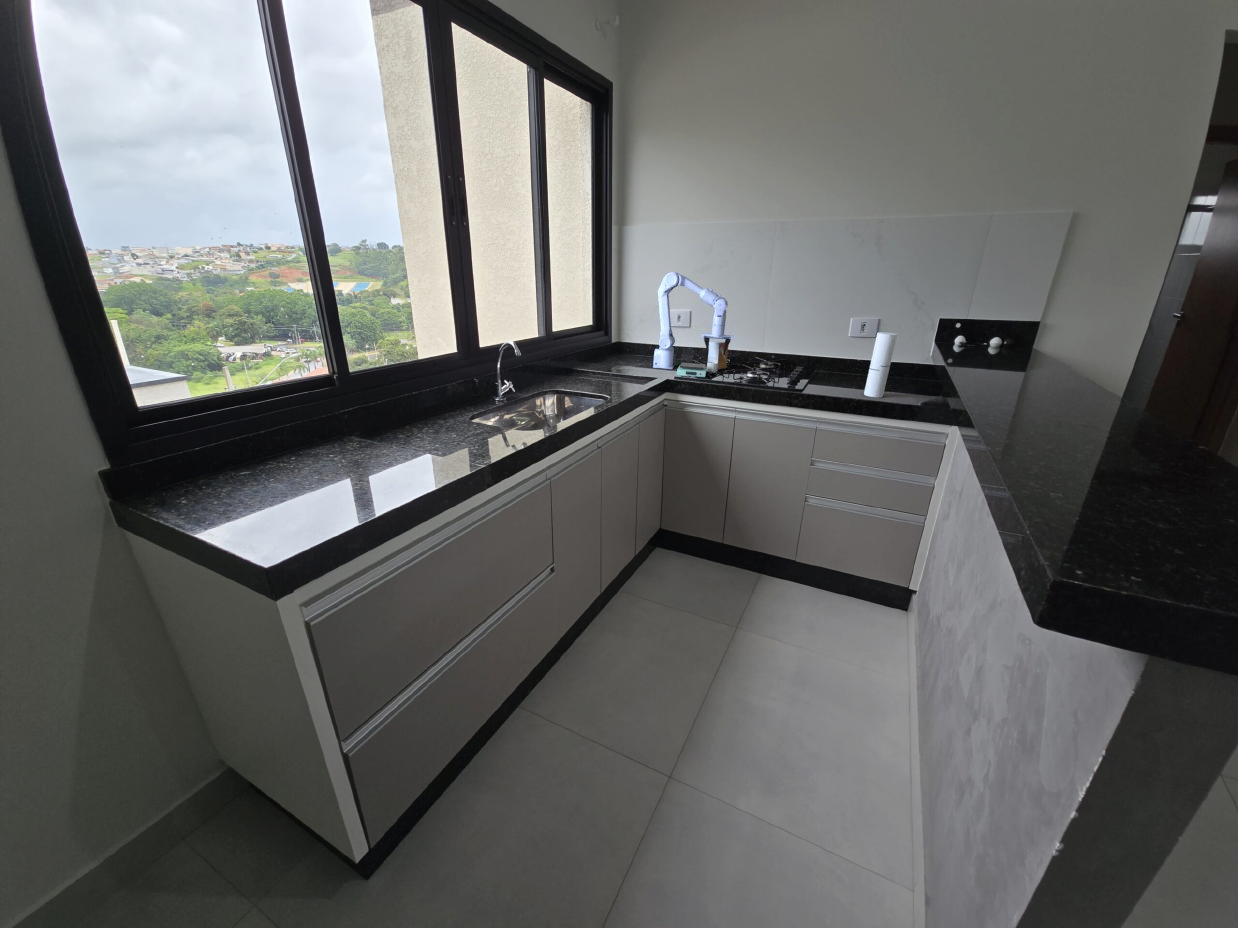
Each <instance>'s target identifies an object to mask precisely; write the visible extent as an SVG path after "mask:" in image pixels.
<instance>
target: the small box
mask: <svg viewBox="0 0 1238 928" xmlns="http://www.w3.org/2000/svg"><path fill="white" fill-rule="evenodd" d="M729 345H730V344H729ZM729 345H728V347H727V349H726V352H725V355H723V352H724V347H725V340H714V341H709V353H708V354H707V362H718V370H723V369H727V365H728V356H729V355H728V354H729V347H730V346H729Z"/></svg>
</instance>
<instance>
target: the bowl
mask: <svg viewBox="0 0 1238 928" xmlns="http://www.w3.org/2000/svg"><path fill="white" fill-rule="evenodd" d="M706 368H707V372H706V373H710V374H716V373H717V372H718V370H719V369H718V362H708V361H707V363H706Z"/></svg>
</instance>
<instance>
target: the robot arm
mask: <svg viewBox="0 0 1238 928" xmlns="http://www.w3.org/2000/svg"><path fill="white" fill-rule="evenodd" d="M676 287H686V289H689V290H691V291H692V292H694V293H696V294H697V295H699V298H700V300H701V301H702V302H704V303H706V304H707V305H709V306H710V307H713V309H714V311H713V312H714V314H713V316H712V317H713V318H712V328H711V333H702V334H701V339H703V341H704V344H705V348H706V349H705V350H706V355H708V353H709V342H710V339H712V340H724V341H725V347H724V352H723V355H725V352H726V349H727V347H728V348H729V346H728V345H730V343H731V341H733V340H734V335H731V334H725V330H726V329H725V328H726V319H727V308H728V306H729V304H728V301H727V299H726V298H725V297H722V295H721V294H717V292H714V290H713V289H712V288H703V287H701V286H700V285H699V284H698V283H696V282H694V281H693V280H692V279H690V278H689V277H687V276H685V275H683V274H681V273H678V272H676V271H675V272H674V271H671V272H668V273H666V274H665V276H663V278H662V281H661V283H660V285H659V287H658V289H657V298H658V299H657V300H658V312H659V323H660V333H659V340H658V346H659V347H658V348H655V349H654V353H653V365H652V368H653V369H663V370H664V369H665V370H666V369H667V370H673V369H674V368H675V365H674V352H675V348H674V345H675V344H676V338H675V336H674V333H673V329H672V321H671V310H670V295H669V294H670V293H671V292H672V291H673V290H674V289H675V288H676Z"/></svg>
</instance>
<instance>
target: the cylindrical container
mask: <svg viewBox="0 0 1238 928" xmlns="http://www.w3.org/2000/svg"><path fill="white" fill-rule="evenodd" d="M897 338H898V333H895V332H886V331H884V332H883V331H879V332H877V334H876V337H875V342H874V346H873V349H872V355H871V360H870V364H869V369H868V373H867V378H866V383H865V387H864V392H863V395H864V396H866V397H870V398H883V397H884V394H885V389H886V385H887V379H888V376H889V372H890V368H891V364H892V359H893V354H894V350H895V345H896V342H897Z"/></svg>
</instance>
